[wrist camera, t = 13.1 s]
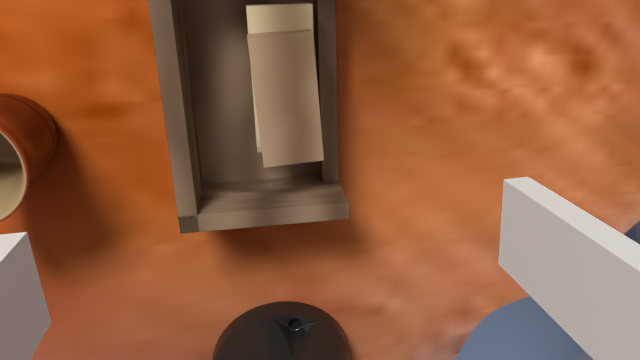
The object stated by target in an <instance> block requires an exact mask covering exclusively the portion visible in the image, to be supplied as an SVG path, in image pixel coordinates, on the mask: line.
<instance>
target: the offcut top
mask: <svg viewBox="0 0 640 360" xmlns="http://www.w3.org/2000/svg"><path fill="white" fill-rule="evenodd" d="M247 40H248V48H249V56H250V64H251V71H252V79H253V87H254V95H255V103H256V110H257V118H258V126H259V134H260V142H261V149H262V157H263V165H264V168H266V167H274V166H282V165H290V164H298V163H306V162H314V161H322V160H324V156H323V144H322V132H321V120H320V108H319V96H318V84H317V72H316V60H315V48H314V36H313V31H312V30H311V29H309V28H307V29H297V30H287V31H277V32H266V33H256V34H247Z"/></svg>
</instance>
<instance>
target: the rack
mask: <svg viewBox="0 0 640 360" xmlns="http://www.w3.org/2000/svg"><path fill="white" fill-rule="evenodd" d="M282 3H311V4H313V34H314V48H315V60H316V72H317V84H318V96H319V108H320V120H321V132H322V144H323V156H324V160H322V161H314V162H306V163H298V164H290V165H282V166H274V167H266V168H264V165H263V157H262V152H257V143H256V131H255V118H254V105H253V91H252V78H251V65H250V56H249V48H248V40H247V34H248V26H247V13H246V5H255V4H282ZM148 4H149V11H150V18H151V25H152V33H153V40H154V47H155V54H156V61H157V68H158V75H159V83H160V90H161V97H162V104H163V111H164V118H165V126H166V133H167V140H168V147H169V154H170V161H171V168H172V176H173V183H174V190H175V197H176V204H177V211H178V218H179V226H180V233H191V232H203V231H214V230H226V229H237V228H248V227H260V226H271V225H283V224H294V223H306V222H317V221H328V220H340V219H349V201H348V199H347V197H346V195H345V193H344V191H343V189H342V187H341V185H340V183H339V168H338V110H337V52H336V0H148Z"/></svg>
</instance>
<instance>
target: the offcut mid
mask: <svg viewBox="0 0 640 360" xmlns="http://www.w3.org/2000/svg"><path fill="white" fill-rule="evenodd" d="M246 13H247V26H248V34H256V33H266V32H277V31H287V30H297V29H307V28H309V29H311V30H312V31H313V4H311V3H282V4H255V5H246ZM313 36H314V34H313ZM250 65H251V64H250ZM251 78H252V71H251ZM252 91H253V105H254V118H255V131H256V143H257V147H261V142H260V134H259V126H258V118H257V110H256V103H255V95H254V87H253V79H252Z"/></svg>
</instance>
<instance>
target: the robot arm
mask: <svg viewBox="0 0 640 360" xmlns="http://www.w3.org/2000/svg"><path fill="white" fill-rule="evenodd" d="M498 264H499V265H500V266H501V267H502V268H503V269H504V270H505V271H506V272H507V273H508V274H509V275H510V276H511V277H512V278H513V279H514V280H515V281H516V282H517V283H518V284H519V285H520V286H521V287H522V288H523V289H524V290H525V291H526V292H527V293H528V294H529V295H530V296H531V297H532V298H533V299H534V300H535V301H536V302H537V303H538V304H539V305H540V306H541V307H542V308H543V309H544V310H545V311H546V312H547V313H548V314H549V315H550V316H551V317H552V318H553V319H554V320H555V321H556V322H557V323H558V324H559V325H560V326H561V327H562V328H563V329H564V330H565V331H566V332H567V333H568V334H569V335H570V336H571V337H572V338H573V339H574V340H575V341H576V342H577V343H578V344H579V345H580V346H581V347H582V349H584V350H585V352H587V354H588V355H590V357H592V359H594V360H640V244H638V243H636V242H634V241H633V240H631V239H630V238H628V237H626V236H625V235H623V234H621V233H620V232H618V231H616V230H615V229H613V228H612V227H610V226H608V225H607V224H605V223H603V222H602V221H600V220H598V219H597V218H595V217H593V216H592V215H590V214H589V213H587V212H585V211H584V210H582V209H580V208H579V207H577V206H575V205H574V204H572V203H571V202H569V201H567V200H566V199H564V198H562V197H561V196H559V195H557V194H556V193H554V192H552V191H551V190H549V189H548V188H546V187H544V186H543V185H541V184H539V183H538V182H536V181H534V180H533V179H531V178H530V177H523V178H514V179H505V180H504V184H503V200H502V215H501V231H500V246H499V262H498ZM50 323H51V320H50V316H49V312H48V309H47V305H46V301H45V297H44V294H43V290H42V286H41V282H40V279H39V275H38V271H37V267H36V264H35V260H34V256H33V253H32V249H31V245H30V241H29V238H28V234H27V232H22V233H13V234H4V235H0V360H30V359H31V357H32V355H33V354H34V352H35V350H36V348H37V346H38V345H39V343H40V341H41V339H42V338H43V336H44V334H45V332H46V330H47V329H48V327H49V325H50ZM213 360H352V357H351V352H350V348H349V345H348V341H347V338H346V335H345V333H344V331H343V329H342V328H341V326H340V325H339V324H338V323H337V321H336V320H335V319H334V318H333V317H331V316H330V315H329V314H327V313H326V312H324V311H323V310H321V309H319V308H317V307H314V306H311V305H308V304H304V303H298V302H275V303H269V304H265V305H262V306H259V307H256V308H254V309H251V310H249V311H247V312H245V313H244V314H242V315H241V316H239V317H238V318H236V319H235V320H234V321H233V322H232V323H231V324H230V325H229V326H228V327H227V328H226V329H225V330H224V332H223V333H222V335H221V336H220V338H219V340H218V342H217V344H216V347H215V350H214V354H213Z"/></svg>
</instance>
